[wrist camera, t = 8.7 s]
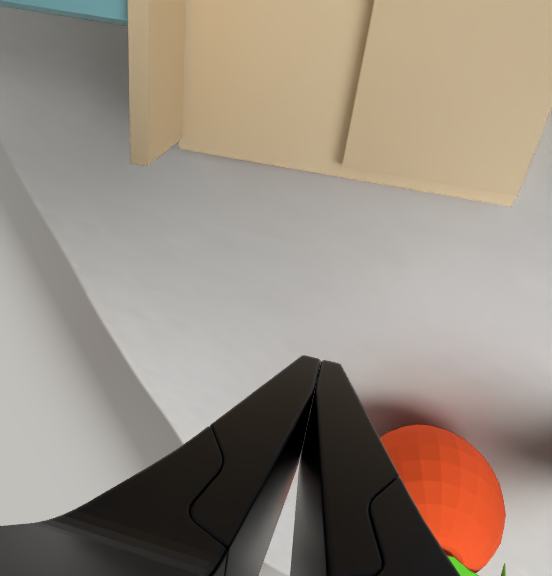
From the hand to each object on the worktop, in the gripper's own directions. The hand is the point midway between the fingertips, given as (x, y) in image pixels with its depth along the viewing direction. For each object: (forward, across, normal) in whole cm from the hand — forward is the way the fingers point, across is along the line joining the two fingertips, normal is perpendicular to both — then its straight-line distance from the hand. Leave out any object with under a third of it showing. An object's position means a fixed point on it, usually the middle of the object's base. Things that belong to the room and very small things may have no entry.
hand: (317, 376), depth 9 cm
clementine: (+12, -7, +12) cm, 18 cm away
